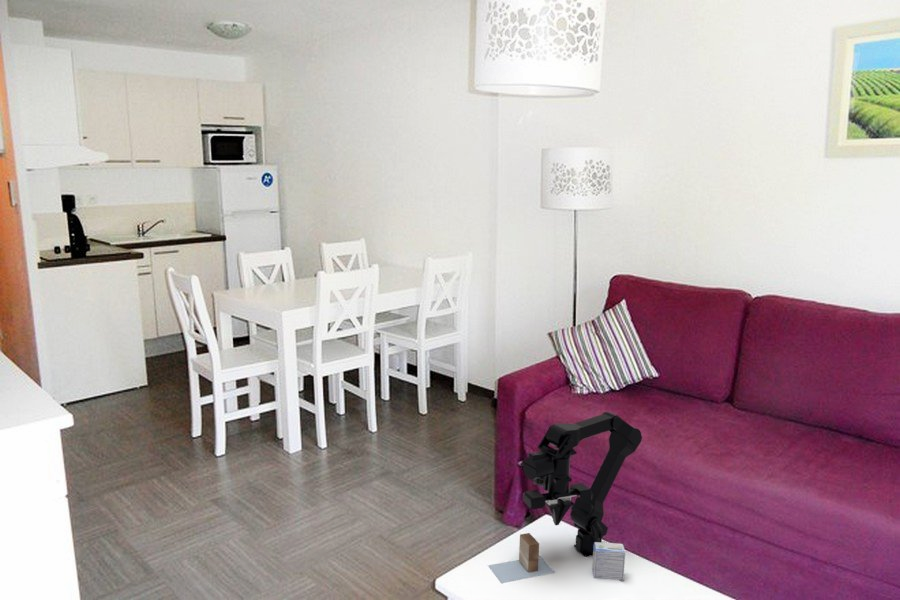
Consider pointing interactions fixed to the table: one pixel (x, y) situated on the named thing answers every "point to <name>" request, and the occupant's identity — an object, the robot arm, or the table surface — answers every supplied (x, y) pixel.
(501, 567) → the mat
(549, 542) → the table surface
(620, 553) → the medicine box
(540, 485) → the robot arm
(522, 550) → the walnut tile
